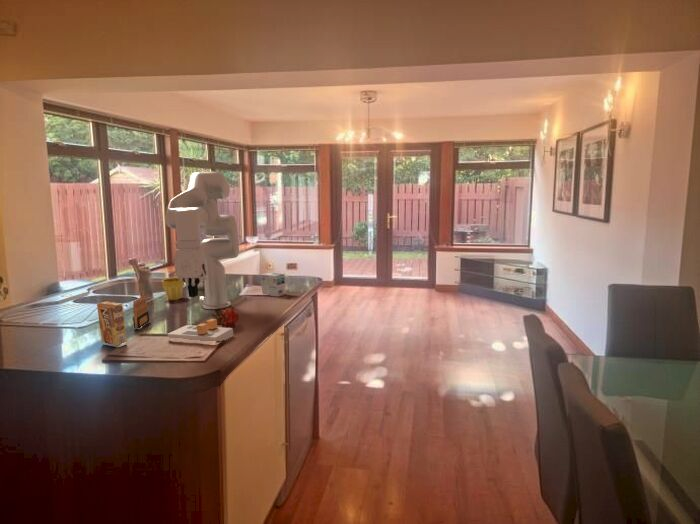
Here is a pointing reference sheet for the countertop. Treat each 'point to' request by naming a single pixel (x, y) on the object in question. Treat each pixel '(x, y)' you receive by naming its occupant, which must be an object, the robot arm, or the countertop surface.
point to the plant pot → (173, 288)
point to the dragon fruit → (227, 317)
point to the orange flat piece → (140, 312)
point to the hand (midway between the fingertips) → (193, 296)
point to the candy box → (112, 323)
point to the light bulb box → (273, 284)
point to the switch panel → (211, 335)
